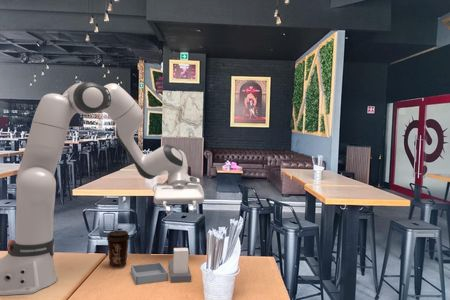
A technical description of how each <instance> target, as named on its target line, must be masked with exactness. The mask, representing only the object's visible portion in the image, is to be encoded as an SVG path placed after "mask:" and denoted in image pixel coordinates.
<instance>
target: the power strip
mask: <svg viewBox="0 0 450 300" xmlns="http://www.w3.org/2000/svg"><path fill="white" fill-rule="evenodd" d="M168 271H169V272H168V274H169V279H170V284H175V283H176V284H178V283H191V282H192V273H191V269H190V266H189V265H188V273H182V274H173V259H172V260H171V259H170V260H168Z"/></svg>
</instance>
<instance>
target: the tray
mask: <svg viewBox="0 0 450 300" xmlns="http://www.w3.org/2000/svg"><path fill="white" fill-rule="evenodd" d="M130 274H131V276H132V277H131V278H133V279H132V280H133V281H134V283H135V286H137V285H146V284H153V283H161V282H168V281H169V272H168V270H167V269H166V267H165V266H164V265H163V263H162V262H161V261H160V262H151V263H143V264H134V265H130Z"/></svg>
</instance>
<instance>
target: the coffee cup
mask: <svg viewBox="0 0 450 300" xmlns="http://www.w3.org/2000/svg"><path fill="white" fill-rule="evenodd" d="M129 240H130V235H129V232H128V231H126V230H121V229H119V230H112V231H109V233H108V234H107V236H106V241H107V244H108V245H107V251H108V252H107V253H108V259H109V261H108V262H109V263H108V267H109V269H113V270H121V269H123V268H125V267H126V266H127V258H128V251H129Z"/></svg>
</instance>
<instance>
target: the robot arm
mask: <svg viewBox="0 0 450 300" xmlns="http://www.w3.org/2000/svg"><path fill="white" fill-rule="evenodd" d="M101 111H103V112H104V113H106V114H107V115H108V117H109V118H110V119H111V120H112V121H113V123H114V124H115V125H116V126H115V127H116V131H115V133H116V137H117V140H118V141H119V143H120V144H121V146H122V147H123V149H124V151H125V152H126V153H127V154H128V156H129V158H130V159H131V161H132V163H133V164H134V166H135V168H136V170H137V173H138V174H139V175H140V177H142V178H144V179H148V180H152V179H155V178H156V177H157V176H159V175H161V174H163V173H164V172H167V173H168V174H167V182H166V183H165V182H163V183H161V182H159V183H158V182H157V183H156V184H154V185H153V186H152V192H153V203H154V204H155V205H162V207H163V208H164V210H165V214H170V211H171V210H170V209H171V208H170V207H171V206H167V205H189V204H190V205H191V206H189V213H195V208H196V205H197V204H199V205H200V204H203V203H204V202H205V192H204V189H203V186H202V185H201V179H200V178H198V177H194V176H190V175H189V174H188V171H189V165H188V159H187V156H186V154H185V152H184V151H183V150H180V149H178V148H177V147H174V146H173V145H170V144H164V145H162V146H160V147H158V148H157V149H155V150H153V151H151V152H150V153H147V154H145V153H143V152H142V150H141V149H140V146H139V145H138V144H137V142H136V141H135V137H134V136H135V134H137V132H138V131H139V129H140V128H141V125H142V123H143V122H144V112H143V109H142V108H141V106H140V105H139V104H138V103H137V101H136V100H135V99H134V98H133V97H132V96H131V95H130V94H129V93H128V92H127V91H126V90H125V89H124V88H122V86H120V85H119V84H117V83H113V82H112V83H111V82H110V83H107V84H106V85H104V86H102V85H100V84H97V83H95V82H92V81H91V82H90V81H85V82H84V81H83V82H77V83H75V84H72V85H70V86H68V87H66V89H65V90H63V92H62V93H61V94H60V93H59V94H58V93H53V92H51V93H47V94H45V95H43V96H42V97H41V99H40V101H39V103H38V104H37V107H36V109H35V113H34V116H33V118H32V122H31V125H30V129H29V133H28V137H27V140H26V144H25V147H24V151H23V154H22V158H21V160H20V164H19V168H18V171H17V174H16V178H15V184H16V199H15V200H16V203H15V204H16V205H15V231H14V236H15V238H14V239H11V240H9V241H8V243H7V253H6V255H5V256H3V257H1V258H0V296H6V295H7V296H9V295H13V296H14V295H25V294H27V295H30V294H34V293H36V292H38V291H39V290H41V289H44V288H47V287H50V286H52V285H53V284H54V283H56V281H58V276H57V273H56V269H55V262H54V255H55V239H54V237H53V236H54V213H55V212H54V211H55V204H56V191H57V190H56V189H57V181H56V178H55V175H56V174H55V173H56V170H57V166H58V165H59V163H60V162H59V161H60V160H61V159H60V158H61V156H62V154H63V151H64V146H65V143H66V139H67V135H68V133H69V132H68V130H69V126H70V122H71V120H72V118H73V117H74V115H76V114H79V115H90V114H96V113H99V112H101Z"/></svg>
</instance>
